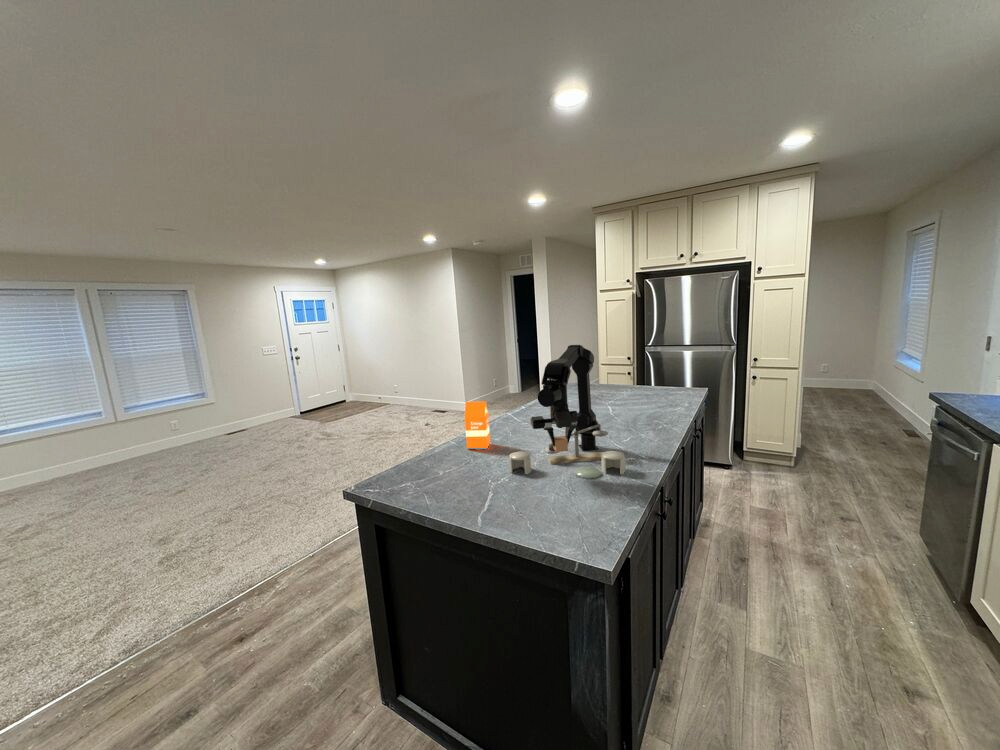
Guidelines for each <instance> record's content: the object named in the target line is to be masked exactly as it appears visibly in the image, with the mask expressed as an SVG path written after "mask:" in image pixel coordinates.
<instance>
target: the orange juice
mask: <svg viewBox="0 0 1000 750" xmlns="http://www.w3.org/2000/svg"><path fill="white" fill-rule="evenodd" d="M489 419H490V418H489V409H488V406H487V402H486V401H465V411H464V424H465V438H466V449H467V448H488V446H489V444H490V445H491V434H490V420H489ZM489 447H490V446H489ZM488 449H489V448H488Z"/></svg>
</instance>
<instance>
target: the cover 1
mask: <svg viewBox="0 0 1000 750" xmlns="http://www.w3.org/2000/svg"><path fill="white" fill-rule="evenodd" d="M508 458H509V471H510V474H511V473H512V474H513V469H514V470H515V469H520V468H519V467H524V468H523V469H524V475H525V474H527V475H528V474H531V472H532V464H531V462H532V461H531V454H530V453H529V452H526V451H515V452H511V453H510V454H509V456H508Z"/></svg>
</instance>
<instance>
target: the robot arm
mask: <svg viewBox="0 0 1000 750" xmlns="http://www.w3.org/2000/svg"><path fill="white" fill-rule="evenodd" d="M594 363H595V355H594V354H593V352H592V351H591V350H590V349H587V348H586V347H585V348H584V346H583V345H581V344H570V345H568V346H567V349H566V350H565V351H564V352H563V353H562V354H561V355H560V357H558V358H557V359H553V360H551V361H549V362H548V363H547V364H546V366H545V367H544V372H543V376H542V380H541V385H542V389H541V390H539V392H538V393H537V401H538V403H539V405H541V406H542V407H544V408H549V407H550V411H549V412H550V417H549V418H544V416H543V415H540V416H539V415H538V416H537V415H536V416H532V417H530V426H531V427H532V429H534V430H540V429H543V431H546V432H547V433H548V435H549V438H550V440H551V444H553V446H555V439H554V437H555V433H554V427H553V425H556V428H558V429H562V428H565V435H564V436H565V437H566V438H567V439H568V444H569V443H570V440H571V437H572V436H571V434H572V433H574V432H573V431H581V430H584V429H586V428H589V427H592V426H595V425H598V424H599V422H598V420H597V415H596V413H595V411H593V409H592V401H591V400H592V398H591V381H590V372H591V371H592V369H593V367H594ZM571 368H572V370H573V372H574V374H575V375H576V380H577V381H576V382H577V394H578V395H577V397H578V411H577V410H570V409H569V404H568V390H567V389H568V386H567V385H568V384H569V379H570V375H571V373H572V372H571V371H572V370H571ZM594 431H600V427H597V428H594V429H591V430H588V431H585V432H582V433H580V434H579V435H580V444H579V449H580V450H581V451H582V452H590V451H597V450H599V447H598V446H597V444H596V441H597V440H596V439H597V438H596V437H597V436H594V435H593V432H594Z"/></svg>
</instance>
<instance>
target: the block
mask: <svg viewBox="0 0 1000 750" xmlns="http://www.w3.org/2000/svg"><path fill="white" fill-rule="evenodd" d="M554 439H555V446H553V448H554V450H555V451H556V452H559V453H561V452H569V443H568V439H567V438H566V437H565V435H560V436H554Z"/></svg>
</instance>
